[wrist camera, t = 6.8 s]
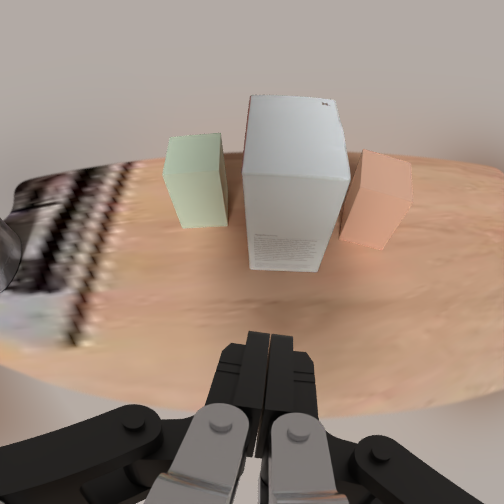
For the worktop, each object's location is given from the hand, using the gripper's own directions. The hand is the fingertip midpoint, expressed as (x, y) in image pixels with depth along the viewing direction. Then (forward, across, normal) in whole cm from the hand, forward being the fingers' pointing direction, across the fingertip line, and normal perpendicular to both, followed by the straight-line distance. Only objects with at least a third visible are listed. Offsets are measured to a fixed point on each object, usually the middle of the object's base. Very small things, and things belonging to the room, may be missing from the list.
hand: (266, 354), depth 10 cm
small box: (+20, -1, +1) cm, 20 cm away
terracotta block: (+22, -8, -1) cm, 23 cm away
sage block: (+22, +8, 0) cm, 23 cm away
